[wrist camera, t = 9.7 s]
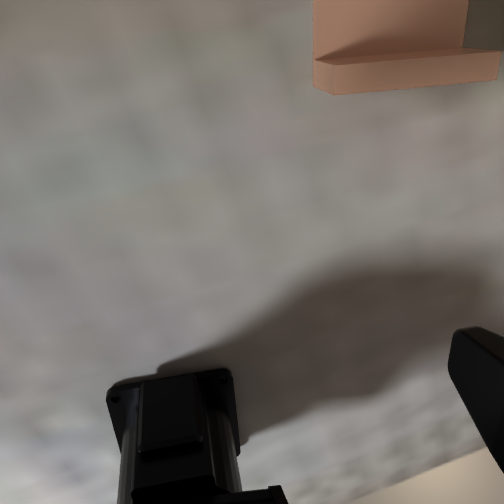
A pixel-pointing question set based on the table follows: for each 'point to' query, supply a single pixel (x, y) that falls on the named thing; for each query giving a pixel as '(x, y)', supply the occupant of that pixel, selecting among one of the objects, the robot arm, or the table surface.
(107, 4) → the table surface
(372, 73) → the cradle
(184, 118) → the table surface
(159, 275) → the table surface
